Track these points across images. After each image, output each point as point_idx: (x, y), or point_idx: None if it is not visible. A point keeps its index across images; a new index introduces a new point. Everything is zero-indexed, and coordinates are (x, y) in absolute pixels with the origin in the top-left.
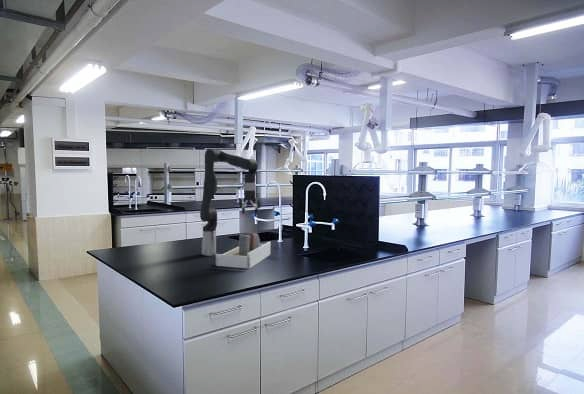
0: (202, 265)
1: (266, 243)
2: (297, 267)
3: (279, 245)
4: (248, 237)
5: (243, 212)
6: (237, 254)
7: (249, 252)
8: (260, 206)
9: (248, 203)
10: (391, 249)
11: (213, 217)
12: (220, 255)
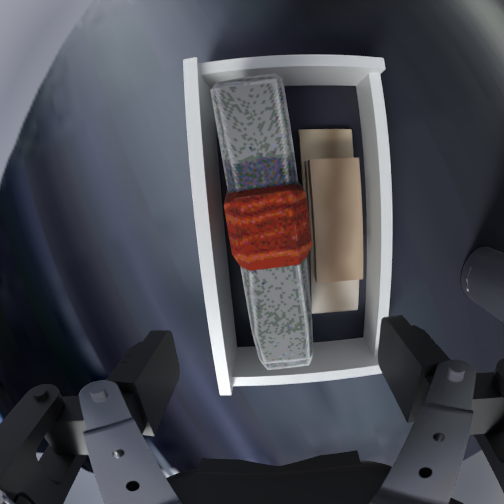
0: (425, 89)
1: (217, 349)
2: (54, 208)
3: None
4: (216, 120)
5: (395, 324)
6: (328, 189)
7: (194, 82)
8: (49, 442)
9: (314, 493)
10: None
11: None
12: (356, 57)
